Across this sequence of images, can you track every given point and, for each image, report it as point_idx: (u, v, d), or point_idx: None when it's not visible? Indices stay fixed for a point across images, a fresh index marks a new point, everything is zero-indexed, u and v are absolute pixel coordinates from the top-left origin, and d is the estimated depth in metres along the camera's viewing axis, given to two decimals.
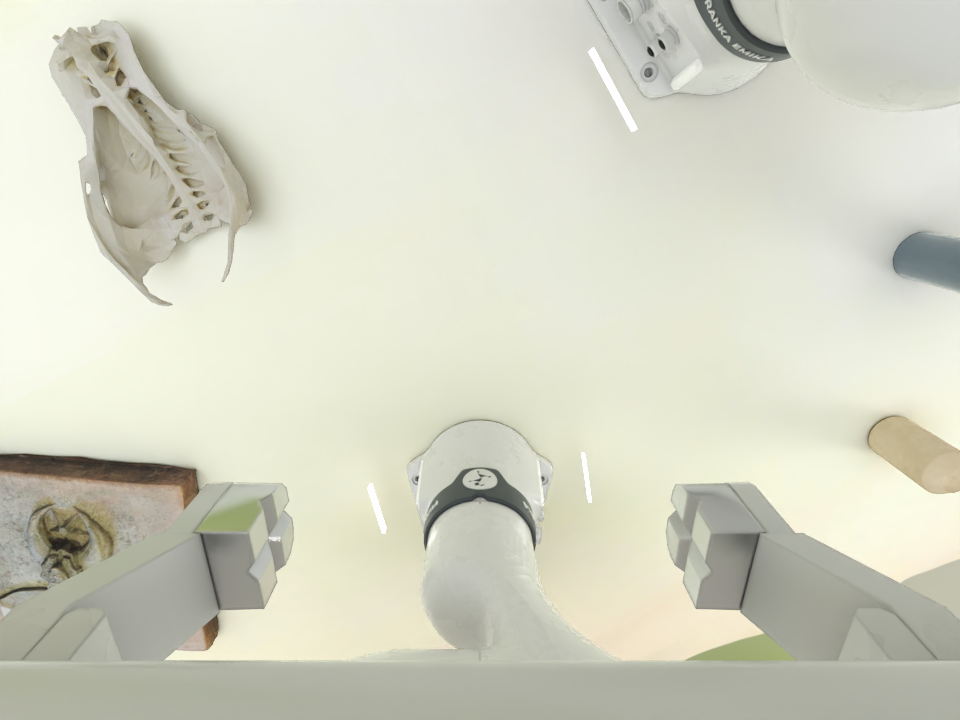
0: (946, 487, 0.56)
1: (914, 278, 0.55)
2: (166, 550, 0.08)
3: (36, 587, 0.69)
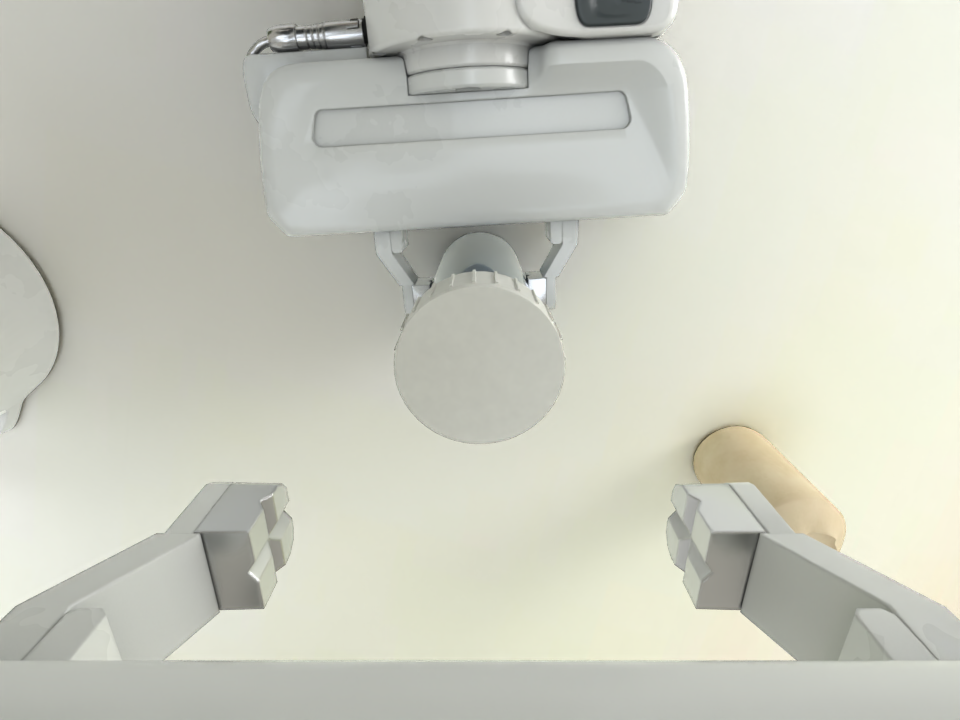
0: None
1: None
2: (166, 550, 0.08)
3: None
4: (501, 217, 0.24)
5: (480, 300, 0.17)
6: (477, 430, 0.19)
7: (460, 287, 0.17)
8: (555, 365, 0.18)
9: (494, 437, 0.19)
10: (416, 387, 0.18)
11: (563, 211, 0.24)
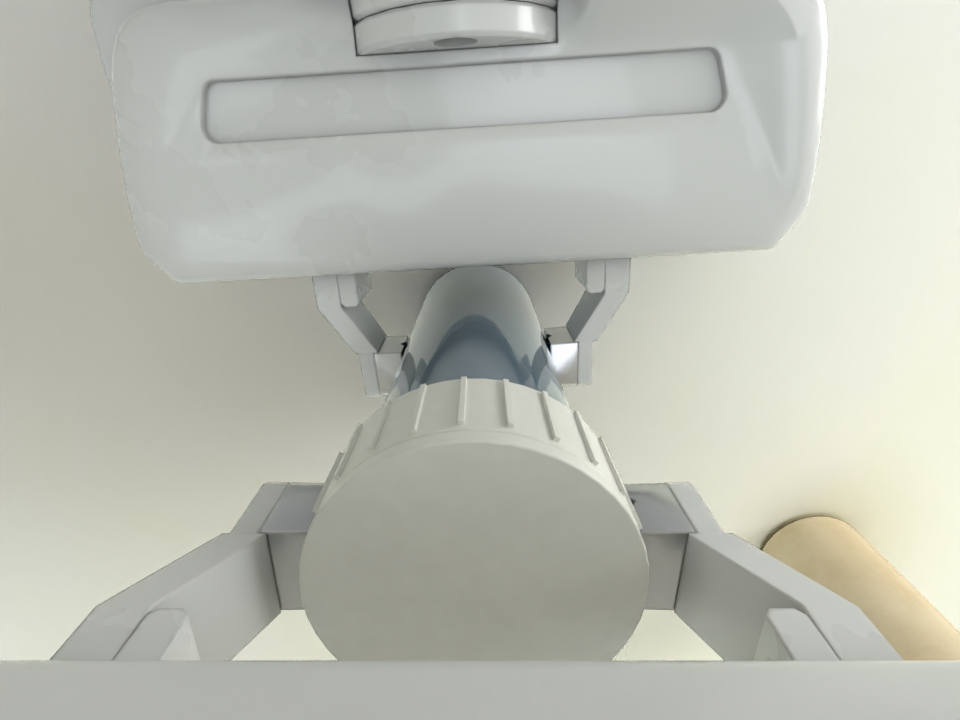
0: None
1: None
2: (235, 550, 0.08)
3: None
4: (511, 254, 0.15)
5: (475, 468, 0.08)
6: None
7: (432, 442, 0.08)
8: (629, 585, 0.09)
9: None
10: (347, 622, 0.09)
11: (609, 245, 0.15)
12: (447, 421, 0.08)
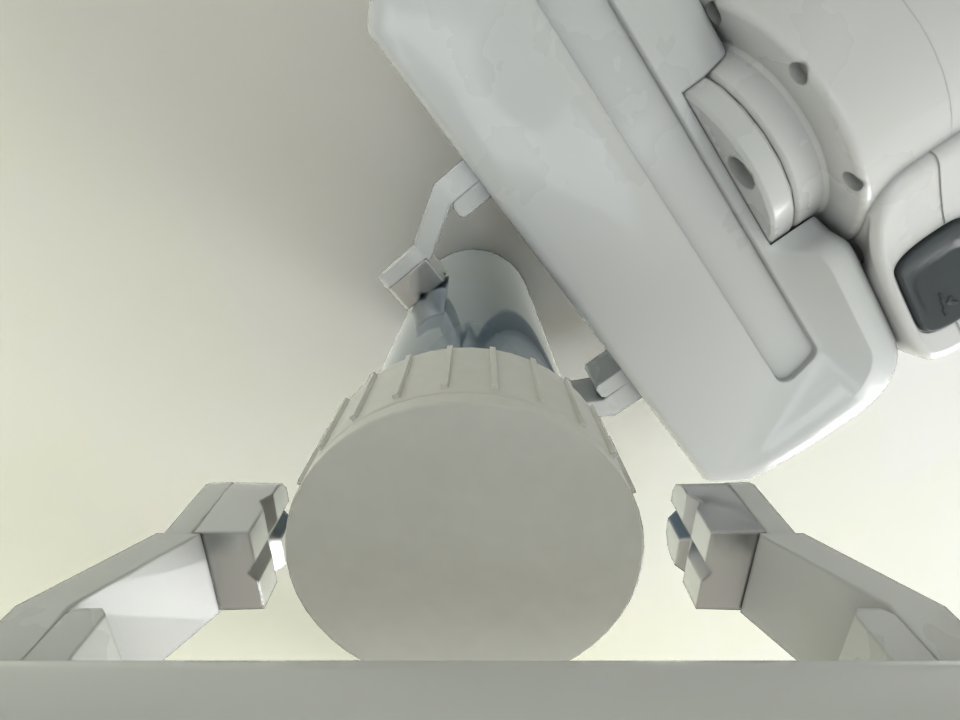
0: None
1: None
2: (166, 550, 0.08)
3: None
4: (596, 316, 0.16)
5: (378, 452, 0.08)
6: (532, 652, 0.09)
7: (328, 448, 0.08)
8: (601, 484, 0.08)
9: (570, 649, 0.09)
10: (379, 640, 0.09)
11: (647, 380, 0.17)
12: (346, 422, 0.08)
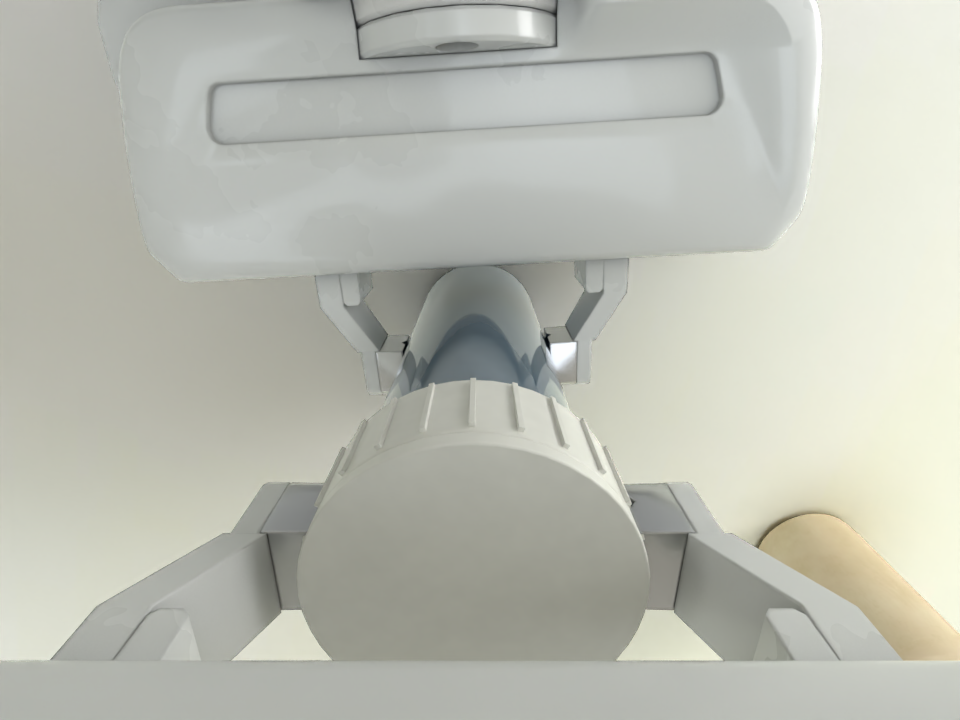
0: None
1: None
2: (236, 550, 0.08)
3: None
4: (511, 254, 0.16)
5: (325, 588, 0.09)
6: (613, 605, 0.09)
7: (305, 611, 0.09)
8: (471, 462, 0.08)
9: (636, 579, 0.08)
10: None
11: (608, 245, 0.16)
12: None
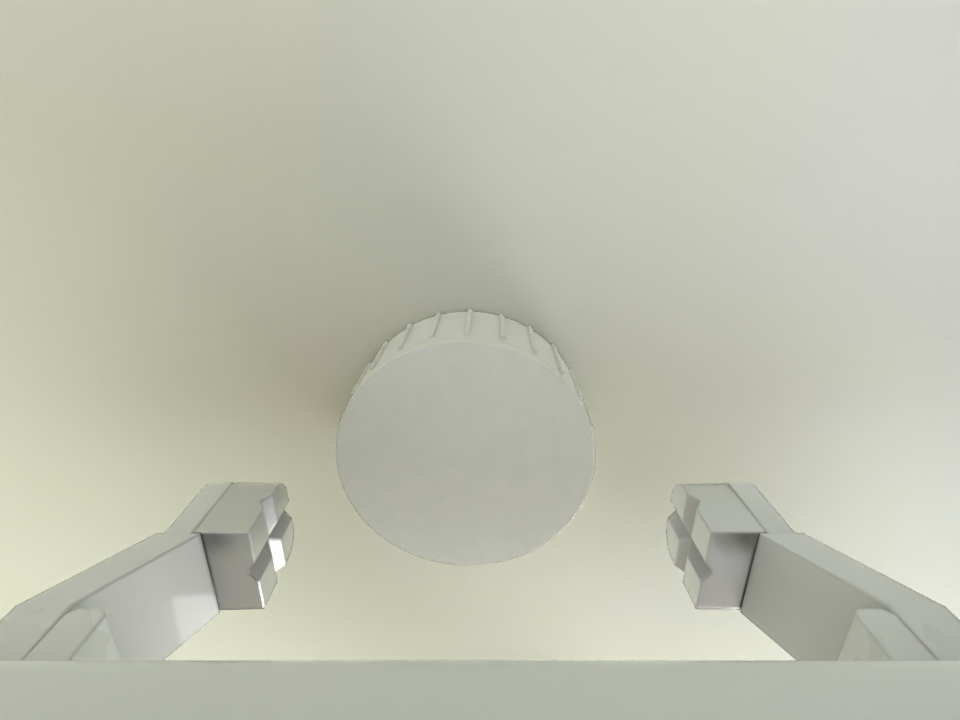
0: None
1: None
2: (166, 550, 0.08)
3: None
4: None
5: (357, 454, 0.12)
6: (568, 475, 0.12)
7: (340, 474, 0.12)
8: (466, 357, 0.11)
9: (584, 453, 0.12)
10: (485, 544, 0.13)
11: None
12: None
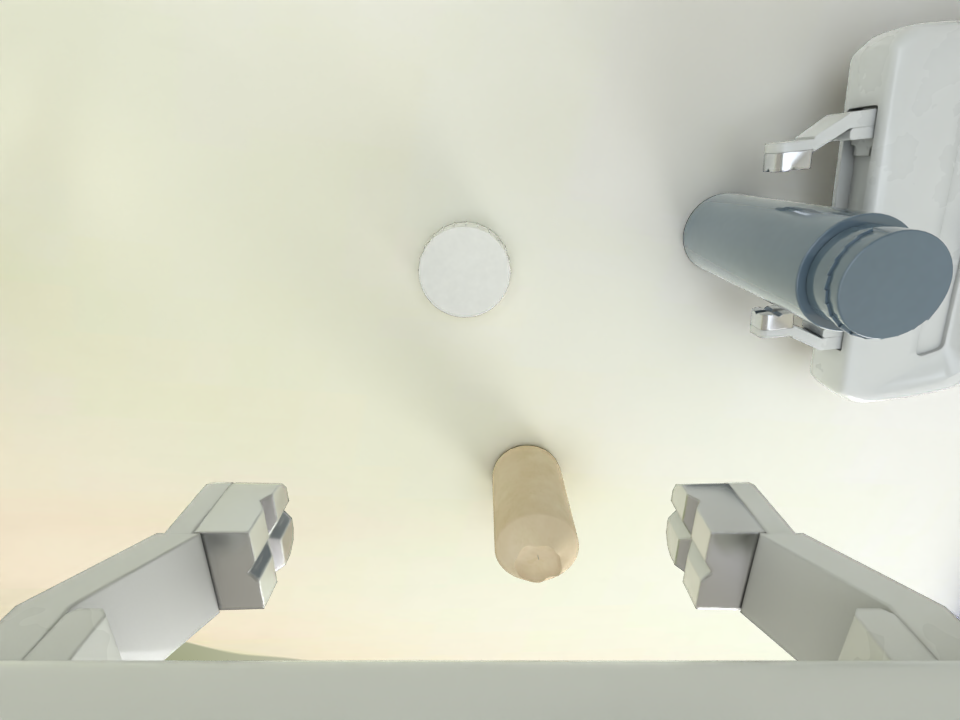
0: (519, 565, 0.33)
1: (696, 246, 0.32)
2: (166, 550, 0.08)
3: None
4: None
5: (426, 269, 0.33)
6: (500, 278, 0.33)
7: (419, 278, 0.33)
8: (465, 231, 0.32)
9: (506, 269, 0.33)
10: (471, 307, 0.34)
11: None
12: None
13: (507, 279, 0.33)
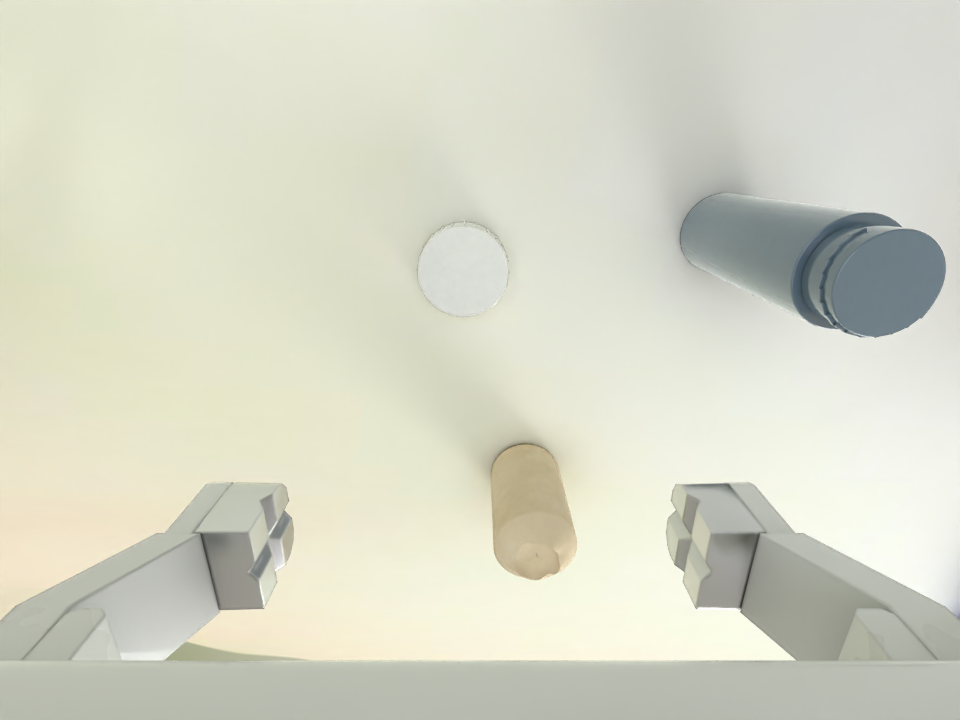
0: (518, 563, 0.33)
1: (693, 245, 0.33)
2: (166, 550, 0.08)
3: None
4: None
5: (424, 268, 0.33)
6: (499, 277, 0.33)
7: (418, 277, 0.34)
8: (463, 231, 0.32)
9: (504, 268, 0.33)
10: (469, 306, 0.34)
11: None
12: None
13: (505, 278, 0.33)
